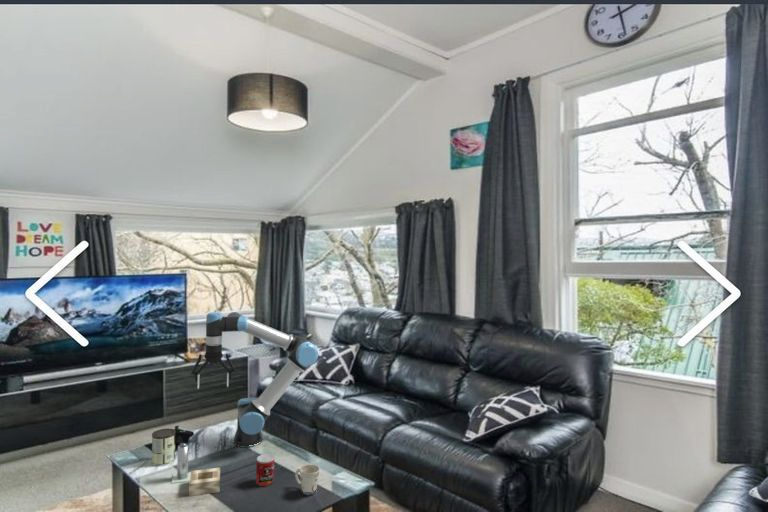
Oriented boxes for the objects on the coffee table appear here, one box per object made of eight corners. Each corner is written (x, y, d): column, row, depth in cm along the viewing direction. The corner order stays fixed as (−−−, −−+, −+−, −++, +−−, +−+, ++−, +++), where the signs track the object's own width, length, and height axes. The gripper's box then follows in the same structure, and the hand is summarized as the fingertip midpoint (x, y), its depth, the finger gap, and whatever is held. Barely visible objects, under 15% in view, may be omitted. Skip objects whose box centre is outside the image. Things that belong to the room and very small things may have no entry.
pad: (192, 472, 215) (192, 471, 215) (191, 481, 207) (191, 480, 207) (173, 475, 212) (173, 474, 212) (171, 483, 205) (171, 482, 205)
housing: (219, 478, 210) (220, 467, 210) (219, 491, 199) (219, 480, 199) (191, 482, 206) (191, 471, 206) (189, 496, 195) (189, 484, 195)
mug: (310, 499, 195) (310, 475, 194) (287, 490, 201) (288, 467, 201) (322, 490, 202) (323, 467, 202) (300, 482, 208) (301, 460, 208)
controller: (174, 443, 246) (174, 424, 246) (195, 445, 243) (195, 426, 243) (168, 446, 242) (169, 427, 242) (189, 449, 239) (190, 430, 239)
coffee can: (159, 455, 231) (159, 427, 231) (179, 457, 230) (179, 428, 230) (146, 465, 221) (147, 435, 221) (167, 467, 220) (168, 437, 220)
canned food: (258, 488, 202) (258, 463, 202) (254, 480, 209) (254, 455, 209) (275, 484, 206) (276, 459, 206) (271, 476, 213) (271, 452, 213)
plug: (188, 474, 212) (188, 441, 212) (187, 478, 208) (188, 445, 208) (177, 475, 211) (178, 442, 211) (176, 480, 207) (177, 446, 206)
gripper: (240, 341, 238) (239, 383, 239) (187, 343, 230) (186, 386, 231) (240, 344, 231) (239, 387, 231) (185, 346, 223) (185, 391, 223)
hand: (213, 387), depth 231 cm, fingers open, 13 cm apart
